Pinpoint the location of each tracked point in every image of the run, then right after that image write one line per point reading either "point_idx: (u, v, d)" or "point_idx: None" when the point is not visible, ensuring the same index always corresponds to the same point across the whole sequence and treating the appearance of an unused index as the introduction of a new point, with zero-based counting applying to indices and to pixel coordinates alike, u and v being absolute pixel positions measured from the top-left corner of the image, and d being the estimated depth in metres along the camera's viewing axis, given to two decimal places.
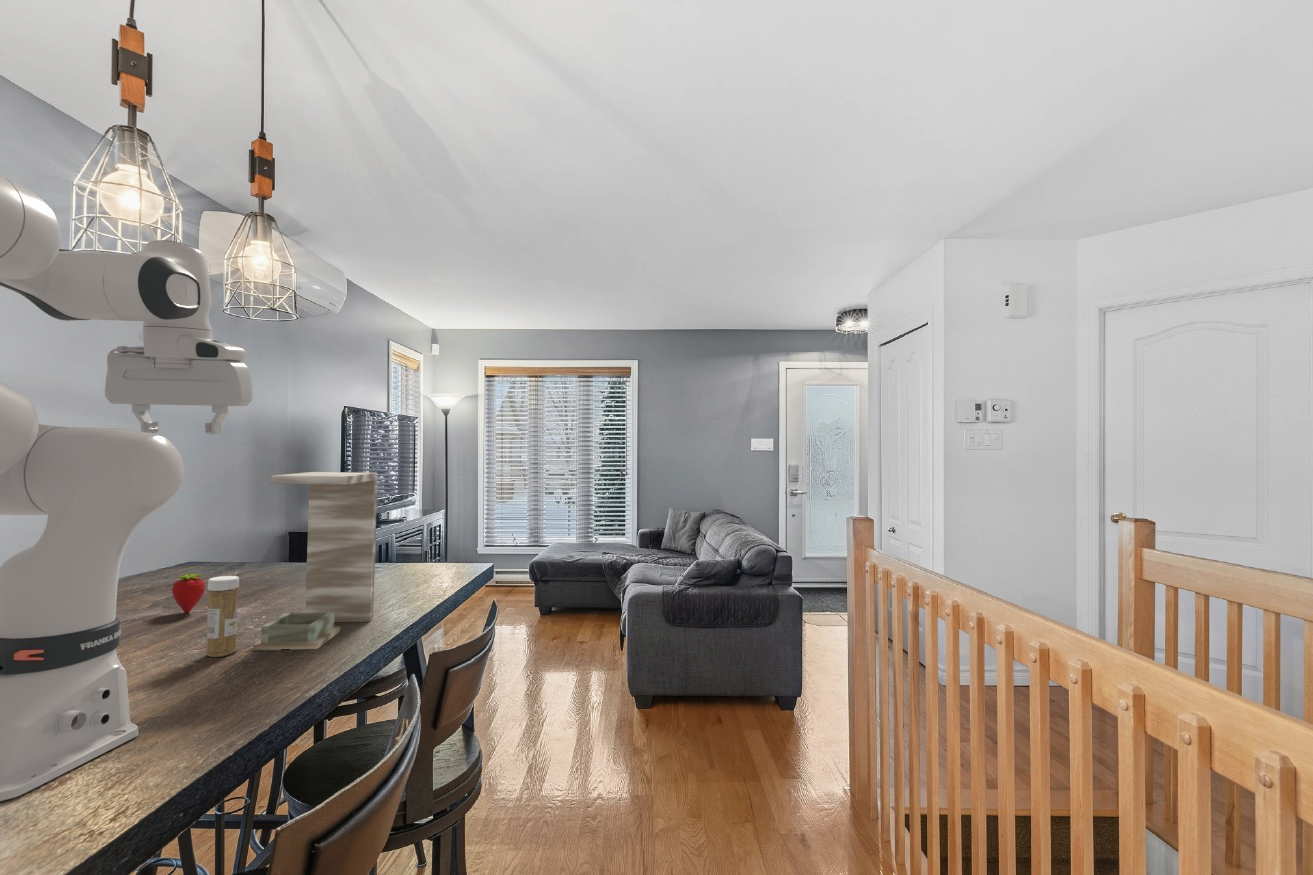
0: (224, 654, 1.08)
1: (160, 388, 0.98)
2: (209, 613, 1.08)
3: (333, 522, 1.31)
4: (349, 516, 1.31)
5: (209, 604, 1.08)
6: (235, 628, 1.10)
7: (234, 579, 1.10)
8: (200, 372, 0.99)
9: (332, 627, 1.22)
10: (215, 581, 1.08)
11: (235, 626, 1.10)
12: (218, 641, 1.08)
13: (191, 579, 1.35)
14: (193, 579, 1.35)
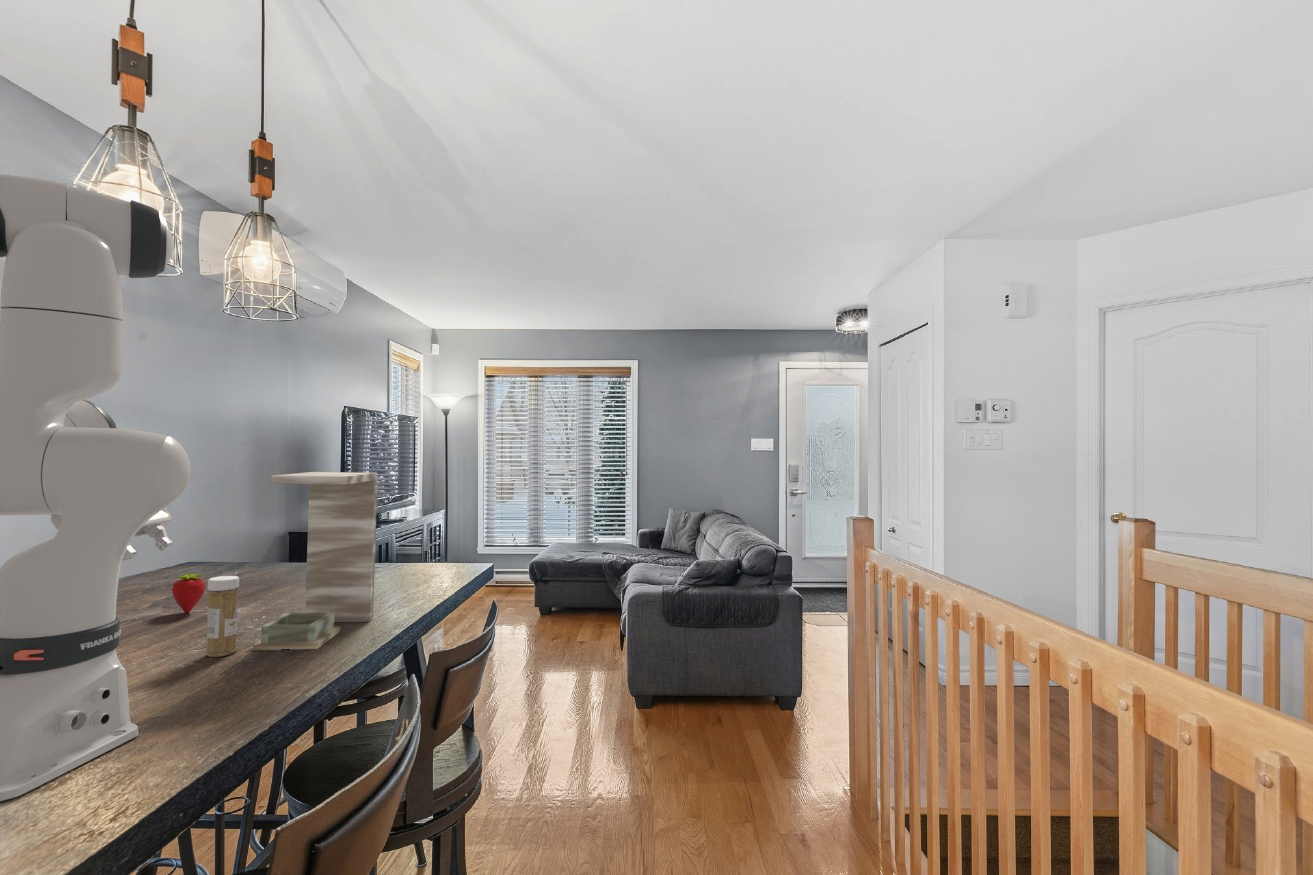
0: (224, 654, 1.08)
1: None
2: (209, 613, 1.08)
3: (333, 522, 1.31)
4: (349, 516, 1.31)
5: (209, 604, 1.08)
6: (235, 628, 1.10)
7: (234, 579, 1.10)
8: None
9: (332, 627, 1.22)
10: (215, 581, 1.08)
11: (235, 626, 1.10)
12: (218, 641, 1.08)
13: (191, 579, 1.35)
14: (193, 579, 1.35)
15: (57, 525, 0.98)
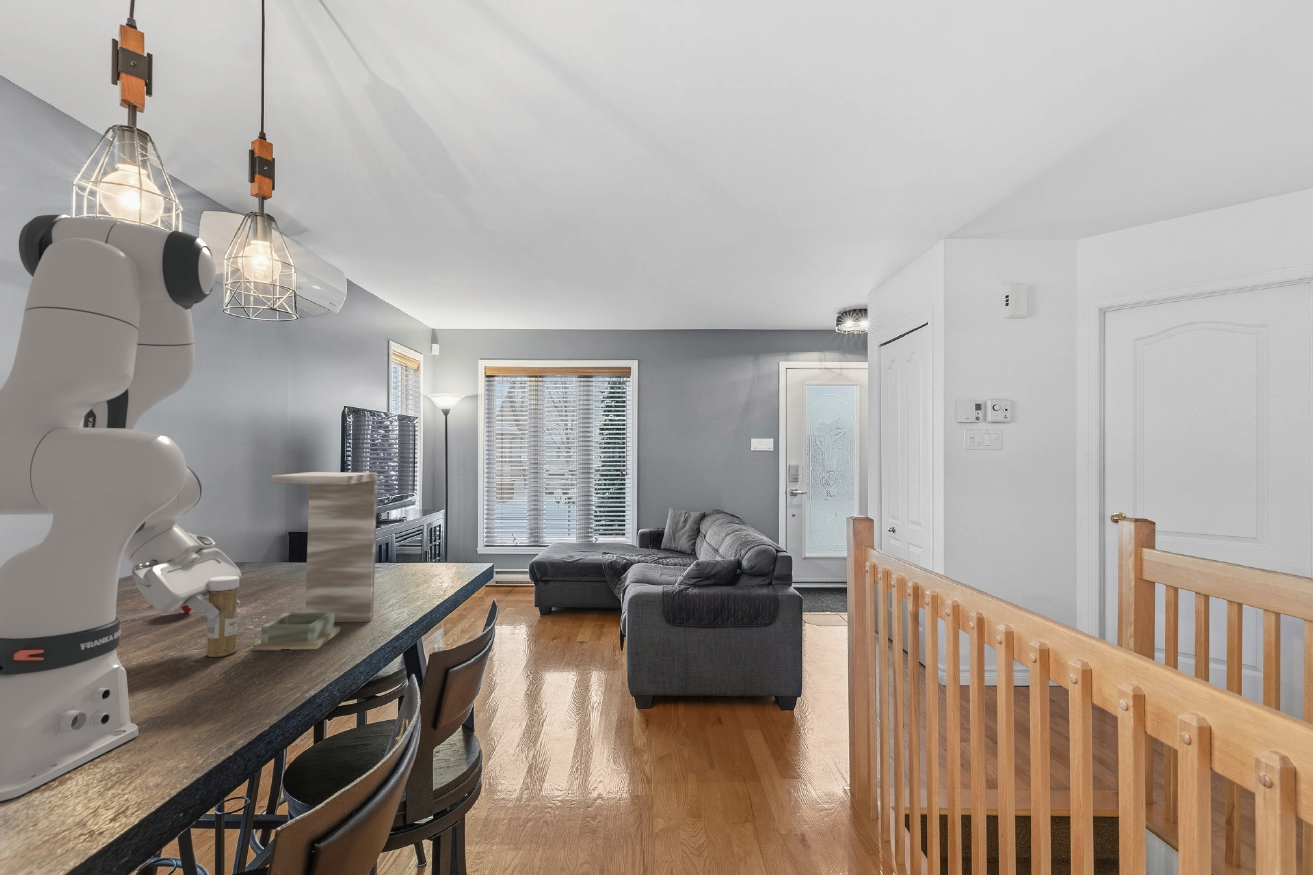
0: (224, 654, 1.08)
1: (197, 577, 1.08)
2: None
3: (333, 522, 1.31)
4: (349, 516, 1.31)
5: None
6: (235, 628, 1.10)
7: (234, 579, 1.10)
8: (205, 561, 1.13)
9: (332, 627, 1.22)
10: (215, 581, 1.08)
11: (235, 626, 1.10)
12: (218, 641, 1.08)
13: None
14: None
15: (143, 590, 1.00)
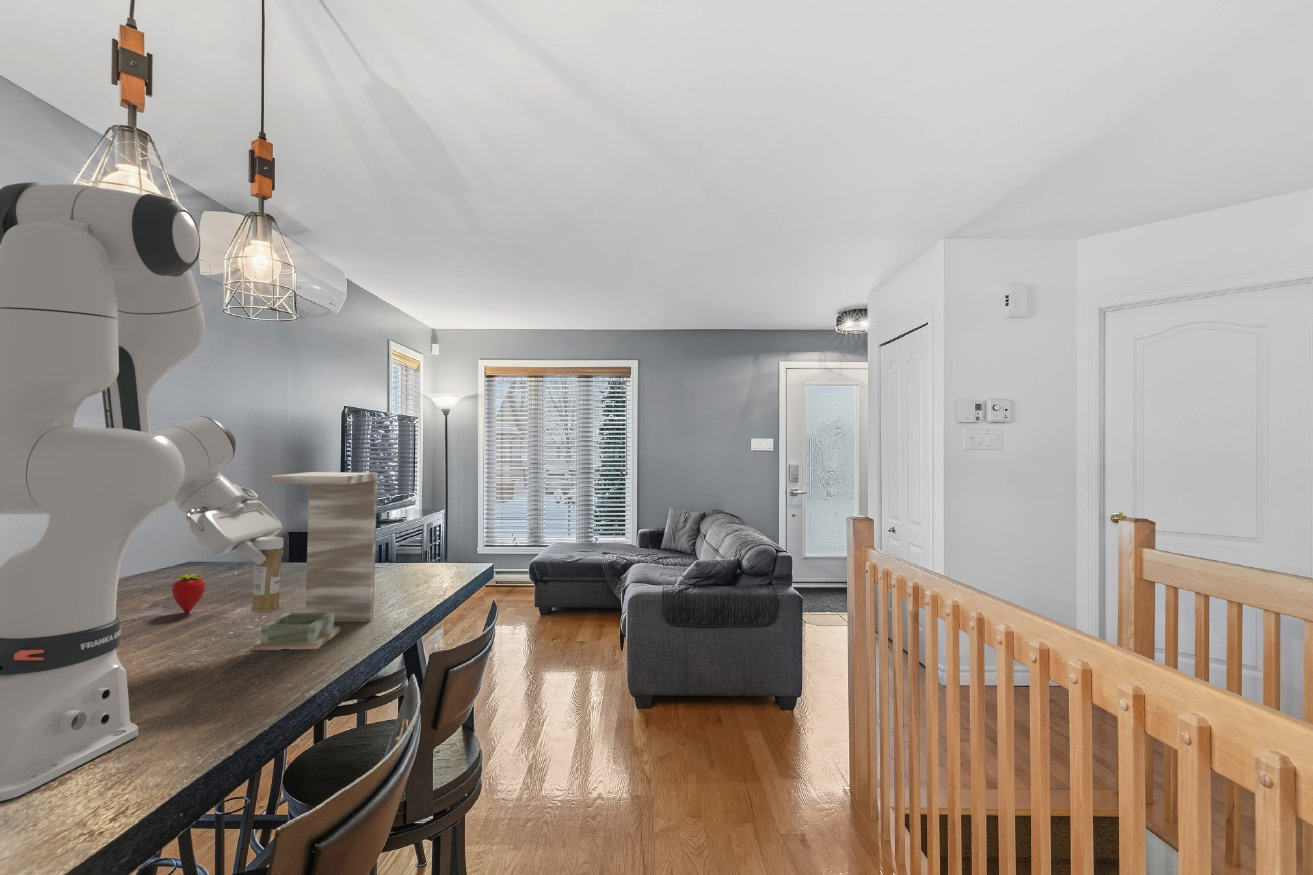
0: (269, 610, 1.13)
1: (245, 525, 1.13)
2: (256, 571, 1.13)
3: (333, 522, 1.31)
4: (349, 516, 1.31)
5: None
6: (279, 586, 1.15)
7: (280, 539, 1.15)
8: (249, 512, 1.18)
9: (332, 627, 1.22)
10: (263, 540, 1.13)
11: (279, 585, 1.16)
12: (263, 598, 1.13)
13: (191, 579, 1.35)
14: (193, 579, 1.35)
15: (197, 534, 1.05)
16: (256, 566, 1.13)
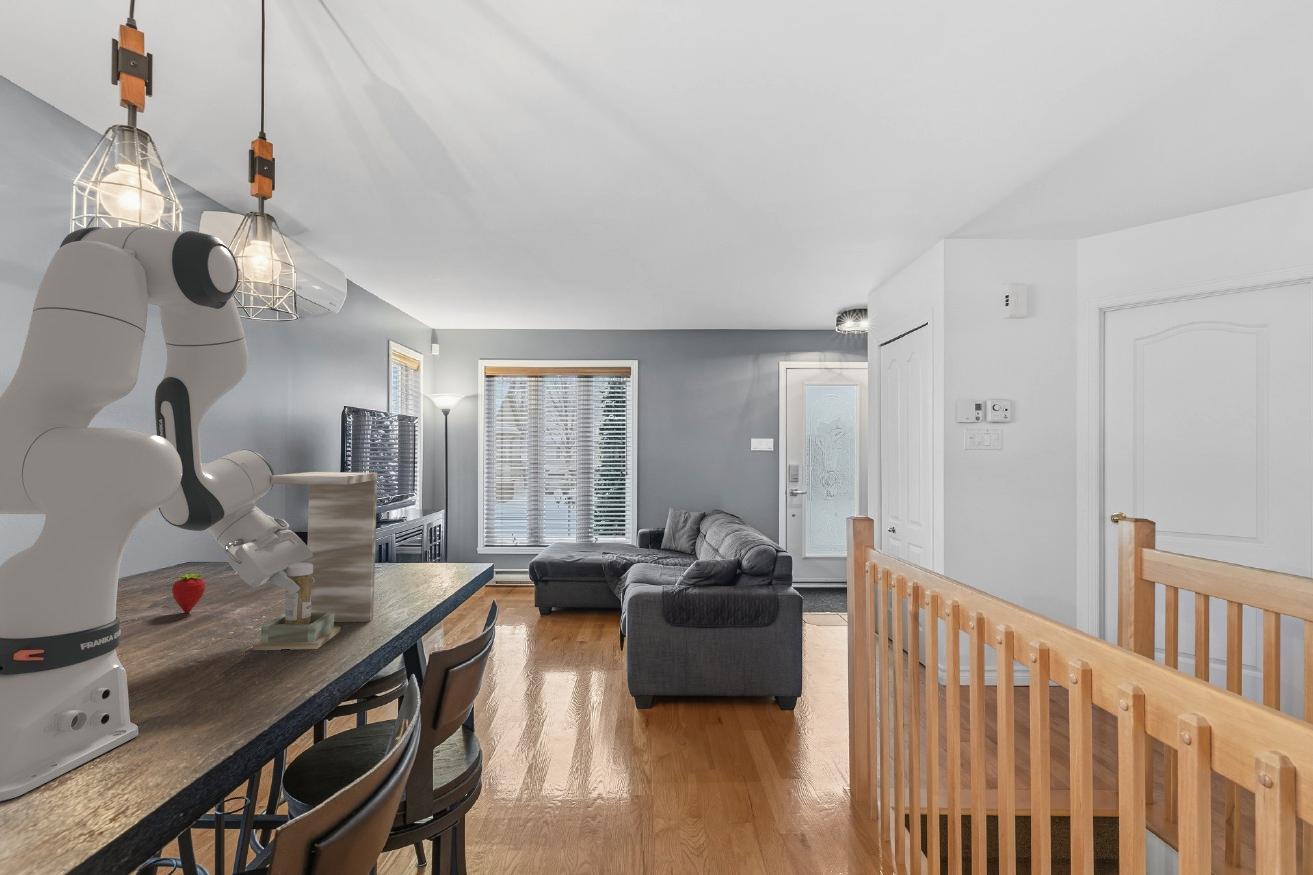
0: None
1: (279, 556, 1.16)
2: (288, 597, 1.16)
3: (333, 522, 1.31)
4: (349, 516, 1.31)
5: None
6: (310, 610, 1.19)
7: (310, 565, 1.18)
8: (282, 542, 1.22)
9: (332, 627, 1.22)
10: (293, 567, 1.16)
11: (310, 609, 1.19)
12: (296, 623, 1.16)
13: (191, 579, 1.35)
14: (193, 579, 1.35)
15: (235, 566, 1.08)
16: (288, 592, 1.16)
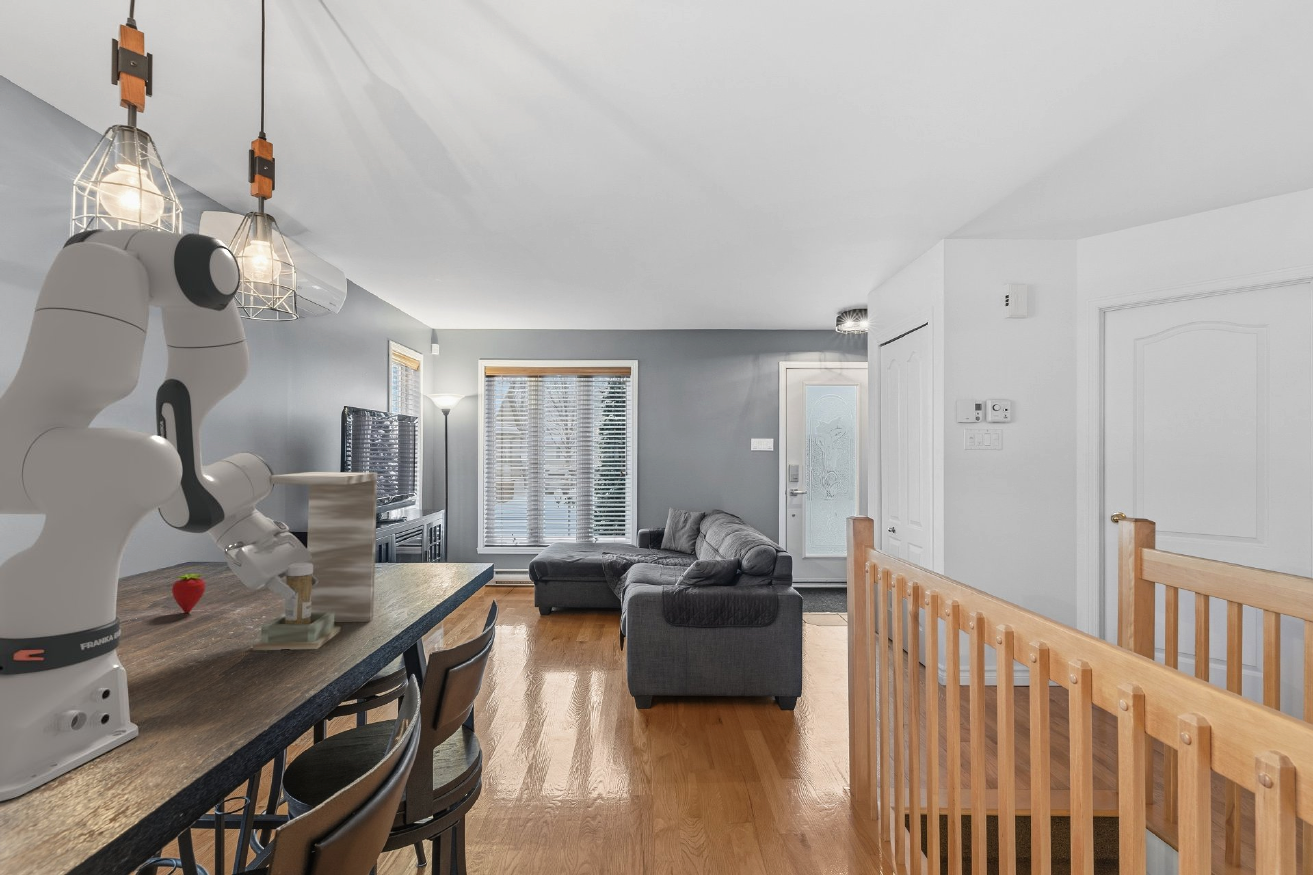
0: None
1: (278, 558, 1.16)
2: None
3: (333, 522, 1.31)
4: (349, 516, 1.31)
5: None
6: (310, 610, 1.19)
7: (310, 565, 1.18)
8: (281, 545, 1.22)
9: (332, 627, 1.22)
10: (293, 567, 1.16)
11: (310, 609, 1.19)
12: (296, 623, 1.16)
13: (191, 579, 1.35)
14: (193, 579, 1.35)
15: (234, 569, 1.08)
16: None
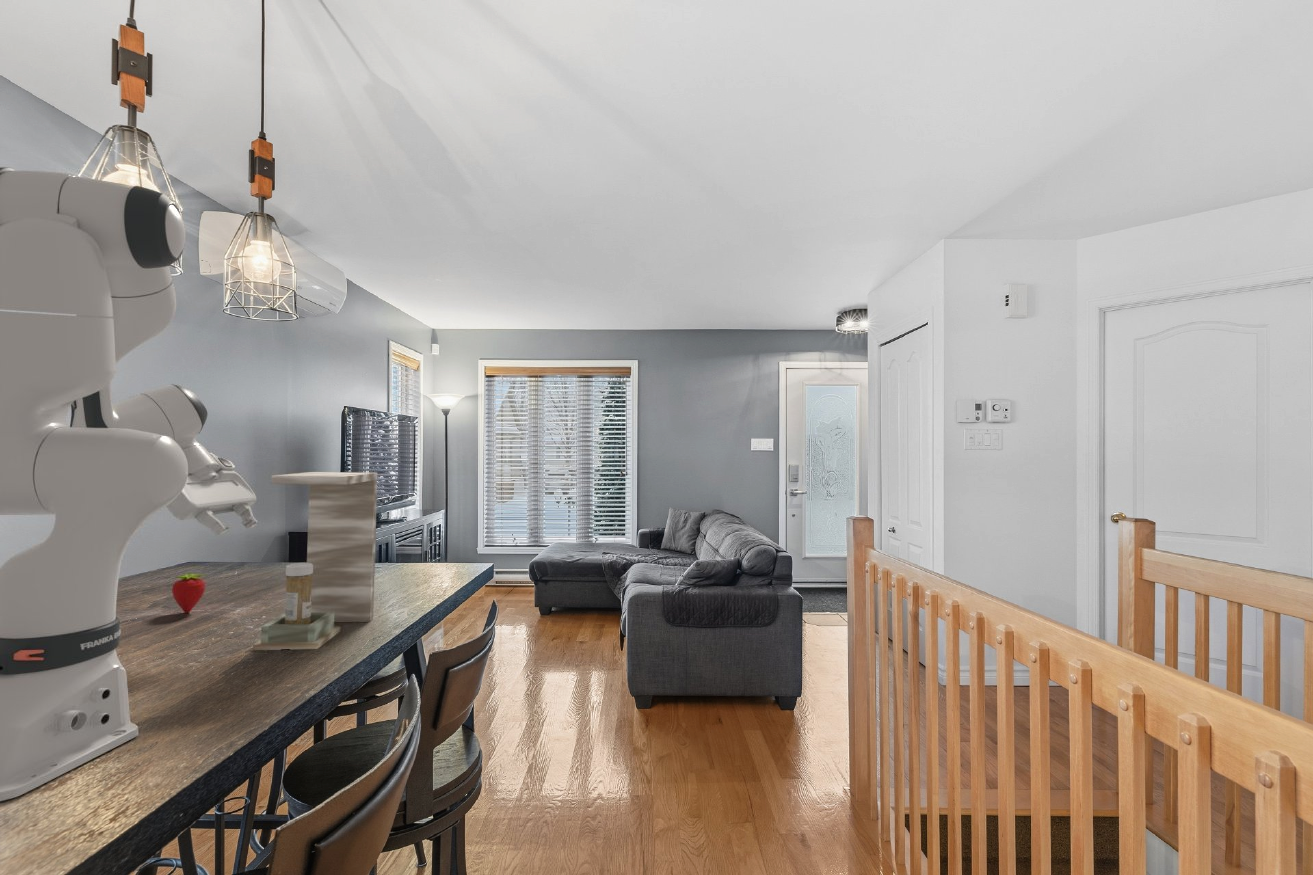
0: None
1: (214, 493, 1.14)
2: (288, 597, 1.16)
3: (333, 522, 1.31)
4: (349, 516, 1.31)
5: (287, 588, 1.17)
6: (310, 610, 1.19)
7: (310, 565, 1.18)
8: (223, 482, 1.20)
9: (332, 627, 1.22)
10: (293, 567, 1.16)
11: (310, 609, 1.19)
12: (296, 623, 1.16)
13: (191, 579, 1.35)
14: (193, 579, 1.35)
15: None
16: (288, 592, 1.16)
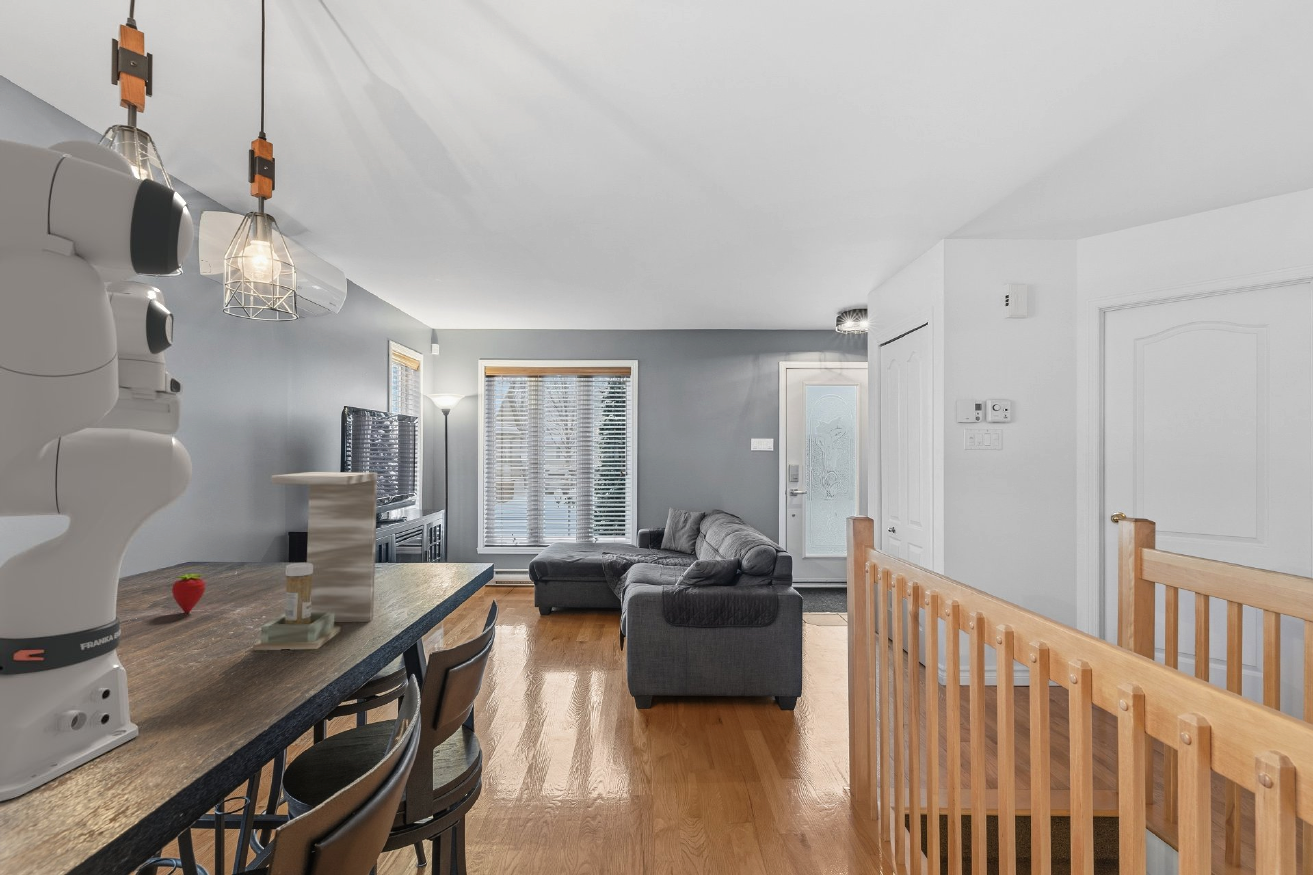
0: None
1: (135, 417, 1.04)
2: (288, 597, 1.16)
3: (333, 522, 1.31)
4: (349, 516, 1.31)
5: (287, 589, 1.17)
6: (310, 610, 1.19)
7: (310, 565, 1.18)
8: (157, 403, 1.10)
9: (332, 627, 1.22)
10: (293, 567, 1.16)
11: (310, 609, 1.19)
12: (296, 623, 1.16)
13: (191, 579, 1.35)
14: (193, 579, 1.35)
15: None
16: (288, 592, 1.16)
